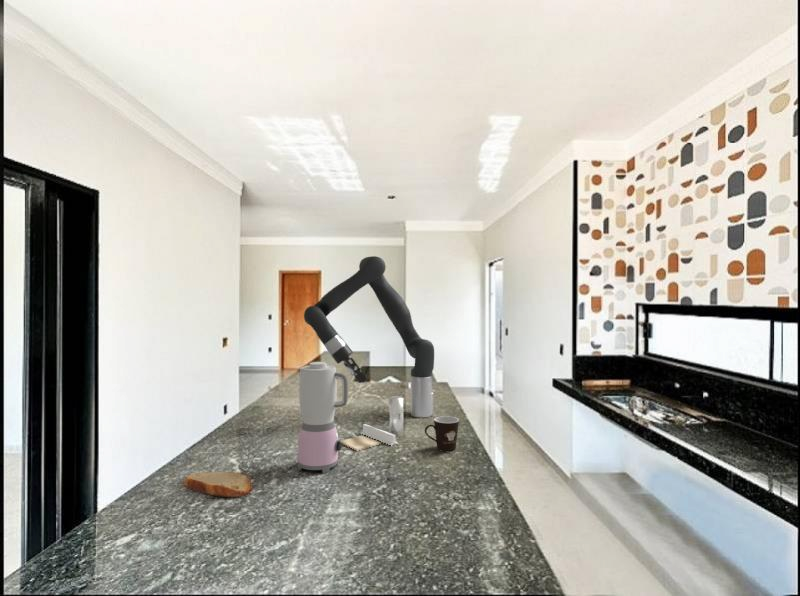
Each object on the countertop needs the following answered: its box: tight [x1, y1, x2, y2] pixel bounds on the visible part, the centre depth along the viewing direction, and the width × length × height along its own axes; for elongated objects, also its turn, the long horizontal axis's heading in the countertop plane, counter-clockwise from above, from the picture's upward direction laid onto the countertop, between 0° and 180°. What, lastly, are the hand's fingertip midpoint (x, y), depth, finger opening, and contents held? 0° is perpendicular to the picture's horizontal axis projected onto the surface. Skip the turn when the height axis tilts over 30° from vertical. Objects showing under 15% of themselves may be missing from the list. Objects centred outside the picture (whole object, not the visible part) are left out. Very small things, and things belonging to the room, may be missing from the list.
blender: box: [297, 361, 349, 474], centre depth 142 cm, size 16×12×32 cm
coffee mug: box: [424, 415, 460, 452], centre depth 160 cm, size 12×9×10 cm
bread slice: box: [182, 471, 253, 499], centre depth 128 cm, size 18×18×4 cm
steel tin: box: [389, 395, 404, 437], centre depth 175 cm, size 5×5×14 cm
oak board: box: [339, 434, 381, 452], centre depth 164 cm, size 10×11×1 cm
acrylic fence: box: [360, 423, 399, 447], centre depth 169 cm, size 3×18×4 cm, turn 41°
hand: (363, 381), depth 182 cm, fingers open, 8 cm apart
